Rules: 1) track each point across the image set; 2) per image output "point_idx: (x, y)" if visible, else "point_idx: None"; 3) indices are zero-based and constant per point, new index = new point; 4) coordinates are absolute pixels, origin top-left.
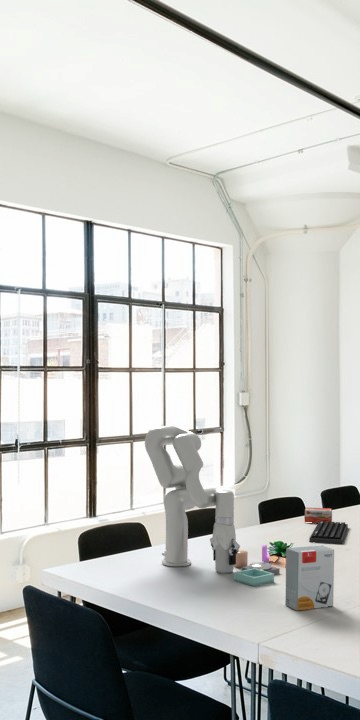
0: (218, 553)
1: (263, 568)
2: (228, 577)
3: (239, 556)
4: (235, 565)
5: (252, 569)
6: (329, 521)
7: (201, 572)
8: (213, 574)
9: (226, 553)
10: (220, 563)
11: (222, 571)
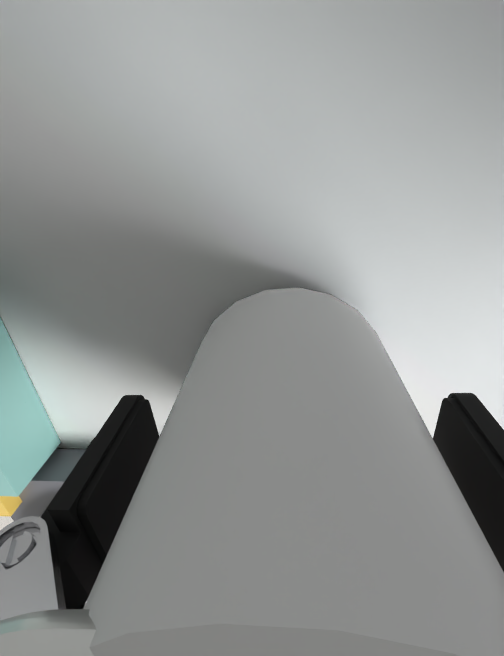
0: (262, 449)
1: None
2: (91, 265)
3: None
4: None
5: None
6: None
7: (448, 129)
8: (271, 206)
9: (120, 528)
10: (237, 343)
11: (228, 310)
